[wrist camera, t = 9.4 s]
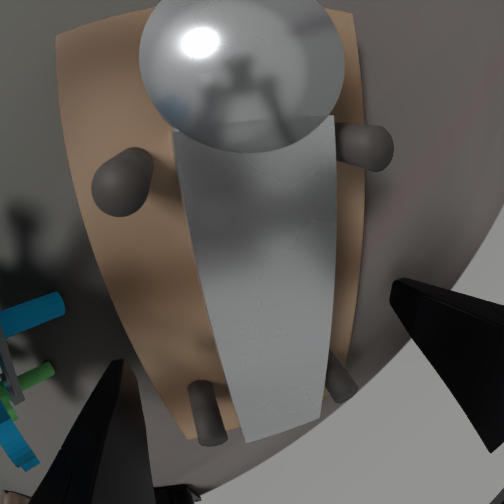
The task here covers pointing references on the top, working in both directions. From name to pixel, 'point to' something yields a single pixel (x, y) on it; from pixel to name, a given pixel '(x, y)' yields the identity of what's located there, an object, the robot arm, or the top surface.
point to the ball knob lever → (256, 187)
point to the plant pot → (14, 498)
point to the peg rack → (172, 217)
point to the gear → (11, 385)
